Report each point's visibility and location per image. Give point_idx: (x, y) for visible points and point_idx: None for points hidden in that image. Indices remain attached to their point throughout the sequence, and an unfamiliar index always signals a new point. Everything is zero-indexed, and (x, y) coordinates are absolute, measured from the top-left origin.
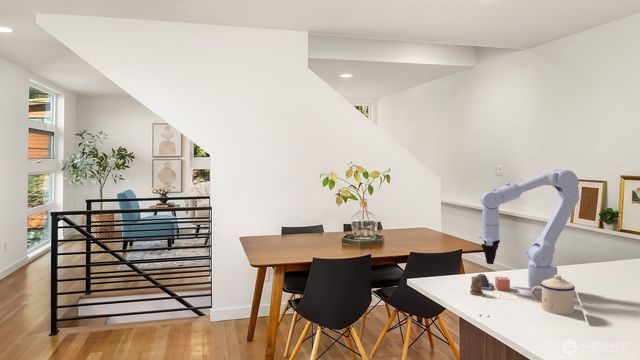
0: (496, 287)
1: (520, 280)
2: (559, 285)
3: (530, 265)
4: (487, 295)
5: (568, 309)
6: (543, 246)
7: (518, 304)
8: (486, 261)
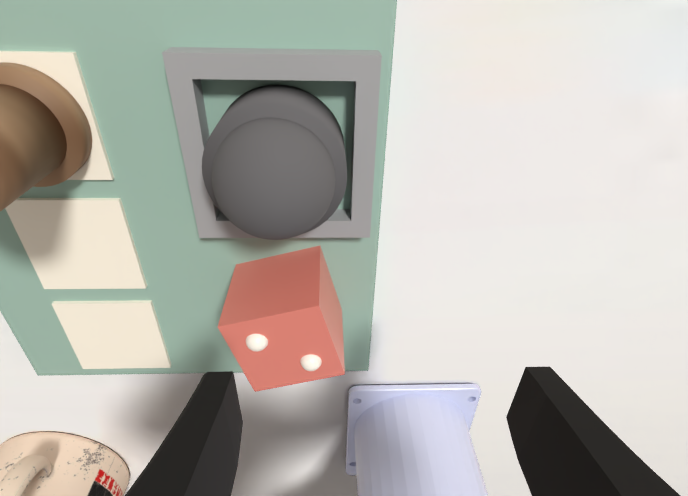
0: (278, 262)
1: (595, 351)
2: None
3: None
4: (45, 211)
5: None
6: None
7: None
8: (194, 395)
